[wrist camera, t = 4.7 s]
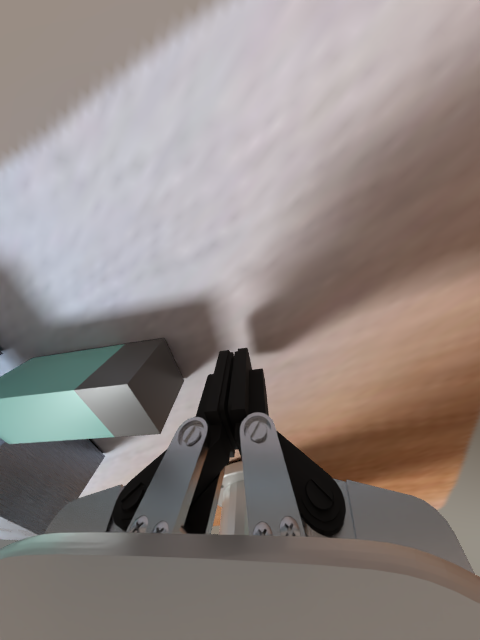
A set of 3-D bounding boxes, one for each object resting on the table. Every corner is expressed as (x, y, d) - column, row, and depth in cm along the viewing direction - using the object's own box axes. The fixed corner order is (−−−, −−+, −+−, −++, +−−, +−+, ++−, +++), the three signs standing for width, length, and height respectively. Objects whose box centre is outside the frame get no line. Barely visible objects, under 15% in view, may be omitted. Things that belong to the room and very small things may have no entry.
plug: (164, 338, 12) (126, 384, 8) (183, 380, 14) (160, 433, 10) (31, 358, 13) (-48, 404, 10) (64, 394, 15) (7, 444, 12)
